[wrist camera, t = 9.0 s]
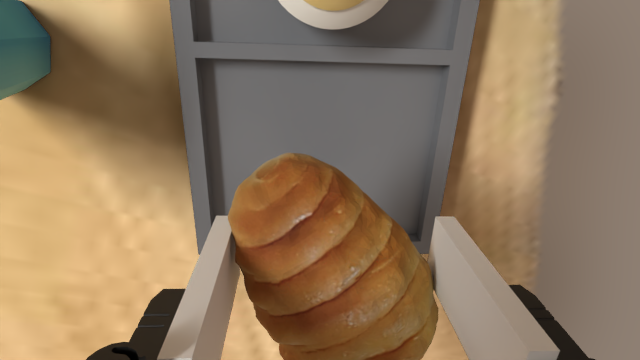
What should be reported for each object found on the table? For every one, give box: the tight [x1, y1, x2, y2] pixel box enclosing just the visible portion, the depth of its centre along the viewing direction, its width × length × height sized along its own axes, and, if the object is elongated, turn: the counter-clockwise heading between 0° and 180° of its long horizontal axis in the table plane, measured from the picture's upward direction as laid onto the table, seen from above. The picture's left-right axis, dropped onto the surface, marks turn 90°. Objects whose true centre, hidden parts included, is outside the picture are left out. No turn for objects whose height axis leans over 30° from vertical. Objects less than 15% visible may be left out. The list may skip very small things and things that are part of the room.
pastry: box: [228, 153, 438, 360], centre depth 14 cm, size 9×7×4 cm
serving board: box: [169, 0, 480, 255], centre depth 21 cm, size 16×22×5 cm
